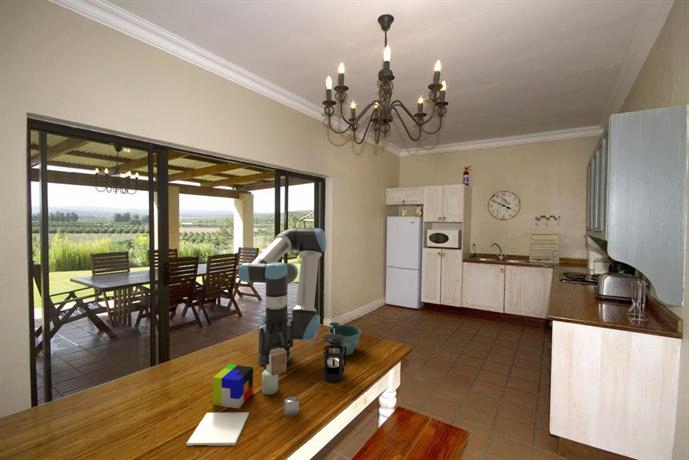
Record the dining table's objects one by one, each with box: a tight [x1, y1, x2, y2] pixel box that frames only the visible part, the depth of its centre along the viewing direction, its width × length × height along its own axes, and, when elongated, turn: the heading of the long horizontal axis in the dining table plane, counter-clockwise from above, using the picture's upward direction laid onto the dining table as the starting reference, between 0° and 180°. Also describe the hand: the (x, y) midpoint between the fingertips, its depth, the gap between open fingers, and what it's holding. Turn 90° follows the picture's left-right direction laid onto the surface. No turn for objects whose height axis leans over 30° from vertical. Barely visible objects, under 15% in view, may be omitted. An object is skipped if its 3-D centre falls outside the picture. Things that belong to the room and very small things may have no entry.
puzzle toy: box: [212, 363, 254, 409], centre depth 112 cm, size 10×10×10 cm
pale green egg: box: [261, 369, 279, 396], centre depth 118 cm, size 6×6×7 cm
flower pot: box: [328, 324, 361, 356], centre depth 154 cm, size 16×16×11 cm
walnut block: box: [270, 348, 287, 376], centre depth 110 cm, size 5×5×7 cm
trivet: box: [186, 411, 250, 447], centre depth 96 cm, size 14×14×1 cm
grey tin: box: [283, 396, 300, 418], centre depth 105 cm, size 5×5×4 cm
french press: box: [321, 321, 347, 384], centre depth 129 cm, size 12×9×23 cm
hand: (276, 369), depth 110 cm, fingers closed on walnut block, 5 cm apart
